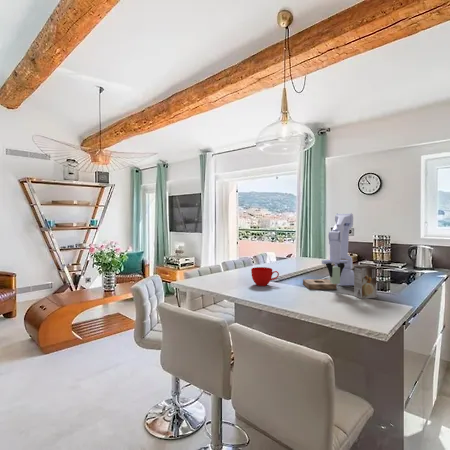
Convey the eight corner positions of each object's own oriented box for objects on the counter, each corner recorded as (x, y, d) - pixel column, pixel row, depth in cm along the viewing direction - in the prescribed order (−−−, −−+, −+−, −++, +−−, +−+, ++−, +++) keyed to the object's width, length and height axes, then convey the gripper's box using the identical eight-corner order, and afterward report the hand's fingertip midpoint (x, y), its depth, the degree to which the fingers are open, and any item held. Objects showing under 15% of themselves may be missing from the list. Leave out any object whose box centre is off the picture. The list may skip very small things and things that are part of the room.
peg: (337, 282, 177) (337, 266, 176) (339, 283, 173) (340, 267, 172) (330, 282, 177) (330, 266, 176) (332, 283, 173) (332, 267, 172)
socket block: (328, 284, 195) (328, 279, 195) (336, 289, 181) (336, 284, 181) (302, 284, 195) (302, 279, 195) (308, 289, 181) (308, 284, 181)
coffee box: (368, 294, 168) (368, 265, 168) (376, 297, 162) (377, 267, 162) (353, 296, 166) (353, 266, 165) (361, 299, 160) (362, 267, 159)
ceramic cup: (278, 288, 185) (278, 271, 185) (250, 286, 188) (250, 270, 188) (279, 283, 198) (279, 267, 197) (252, 282, 201) (252, 266, 201)
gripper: (324, 253, 170) (324, 278, 171) (351, 253, 170) (350, 278, 171) (320, 251, 177) (320, 275, 178) (346, 251, 177) (345, 275, 178)
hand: (335, 276), depth 175 cm, fingers closed on peg, 4 cm apart
